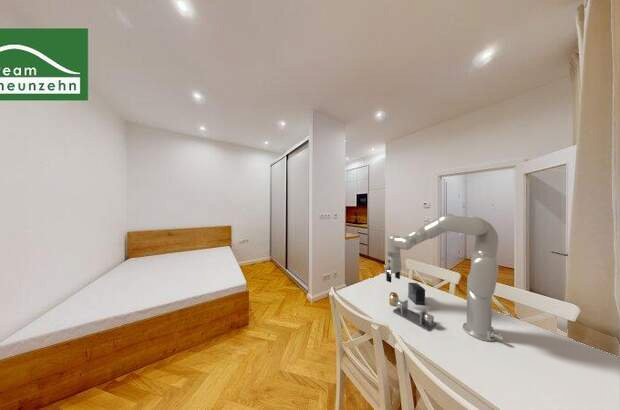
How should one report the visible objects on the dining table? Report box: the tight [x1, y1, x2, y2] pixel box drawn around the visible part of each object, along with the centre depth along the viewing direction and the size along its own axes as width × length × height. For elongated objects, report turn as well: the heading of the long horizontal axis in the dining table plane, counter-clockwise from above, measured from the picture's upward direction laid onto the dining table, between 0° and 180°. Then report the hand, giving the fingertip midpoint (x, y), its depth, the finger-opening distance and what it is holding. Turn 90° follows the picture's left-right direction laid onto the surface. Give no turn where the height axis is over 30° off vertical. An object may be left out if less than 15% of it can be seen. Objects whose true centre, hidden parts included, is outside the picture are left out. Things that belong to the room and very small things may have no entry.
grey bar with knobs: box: [392, 299, 437, 332], centre depth 109 cm, size 20×9×7 cm, turn 33°
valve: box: [388, 291, 399, 308], centre depth 124 cm, size 5×5×7 cm
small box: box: [407, 282, 426, 306], centre depth 128 cm, size 11×6×10 cm, turn 179°
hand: (393, 279), depth 124 cm, fingers open, 9 cm apart
